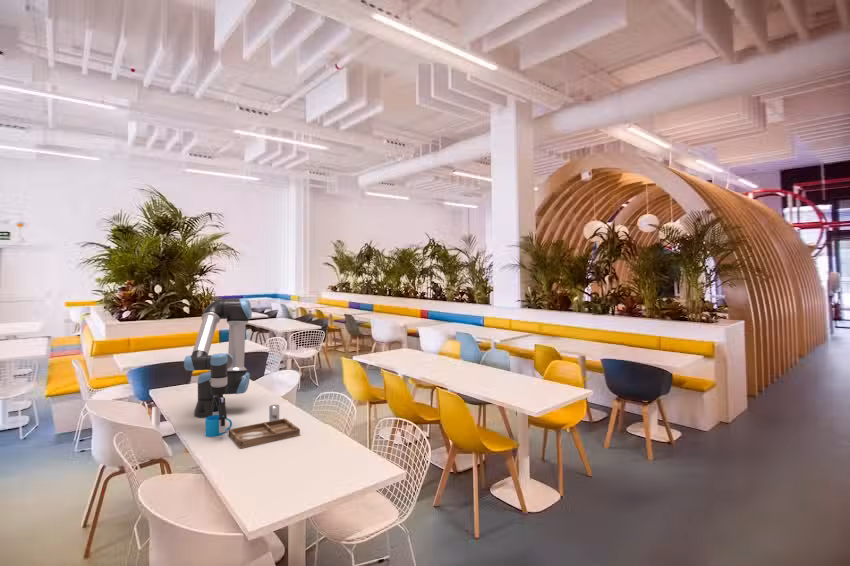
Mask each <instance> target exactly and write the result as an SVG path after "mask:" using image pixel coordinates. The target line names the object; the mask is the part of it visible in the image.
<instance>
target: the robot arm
mask: <svg viewBox="0 0 850 566" xmlns="http://www.w3.org/2000/svg"><path fill="white" fill-rule="evenodd" d="M252 312H253V310H252V305H251V302H250V300H249V299H246V298H219V299H216V300H214V301H212V302H211V303H210V304H209V305H207V306H206V308H205V309H204V310H203V312H202V314H201V325H200V328H199V330H198V334H197V337H196V340H195V343H194V346H193V350H192V352H191V355H186V356H185V357H184V361H183V367H184V370H185V371H190V372H191V371H193V372H195V371H206V372H203V373H200V374H199V375H198V377H197V384H196V385H197V402H196V405H195V408H194V412H193V415H194V417H196V418H207V417H209V416H213V415H219V417H220V418H218V420H219V433H222V432H224V433H226V431H225V430H226V418H228V416H227V406H226V397H224V395H240V394H245V393H246V392H247V391H248V388H249V384H250V380H251V379H250V377H251V376H250V375H251V373H249V372H248V369H247V367H245V353H246V352H245V347H246V345H245V344H246V325H247V324H248V323H249V320H251V319H252ZM220 320H226V323H227V324H228V325H229V327H228V349H227V350H228V351H227V352H228V353H222V352H221V353H214V354H209V352H210V350H211V346H212V342H213V339H214V335H215V332H216V328H217V325H218V324H219V323H220Z"/></svg>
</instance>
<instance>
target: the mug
mask: <svg viewBox="0 0 850 566" xmlns="http://www.w3.org/2000/svg"><path fill="white" fill-rule="evenodd" d="M218 418H220V417H219V415H213V416H209V417H205V418H204V419H205V432H204V433H205V437H206V438H216V437H221V436H222V435H224V434H225V432H227V431H229V429H232V426H233V421H232V420H231V419H230V418H228V417H227V418H226V420H227V421H228V422H229V426H228V427H227V428H225V432H222V433H219V420H218ZM226 420H225V421H226Z"/></svg>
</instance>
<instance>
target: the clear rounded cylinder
mask: <svg viewBox="0 0 850 566" xmlns="http://www.w3.org/2000/svg"><path fill="white" fill-rule="evenodd" d="M268 411H269V412H268V414H269V416H268V418H269V421H274V420H279V419H280V405H279V404H271V405H269V410H268ZM269 421H268V422H269Z"/></svg>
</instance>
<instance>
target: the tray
mask: <svg viewBox="0 0 850 566" xmlns="http://www.w3.org/2000/svg"><path fill="white" fill-rule="evenodd" d="M298 436H301V429H300V428H299V427H298V426H296V425H295V424H294V423H292V422H291V421H290V420H288V419H287V418H285V417H283V418H279V420H274V421H264V422H258V423H255V424H250V425H249V424H248V425H244V426H239V427H235V428H230V429H229V430H228V437H229V438H230V439H231V440H232V441H233V443H234V444H235V445H236V446H237V447H238V448H239V449H240V450H241V449H245V448H249V447H250V448H251V447H255V446H258V445H262V444H268V443H271V442H276V441H281V440H284V439H290V438H294V437H298Z"/></svg>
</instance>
